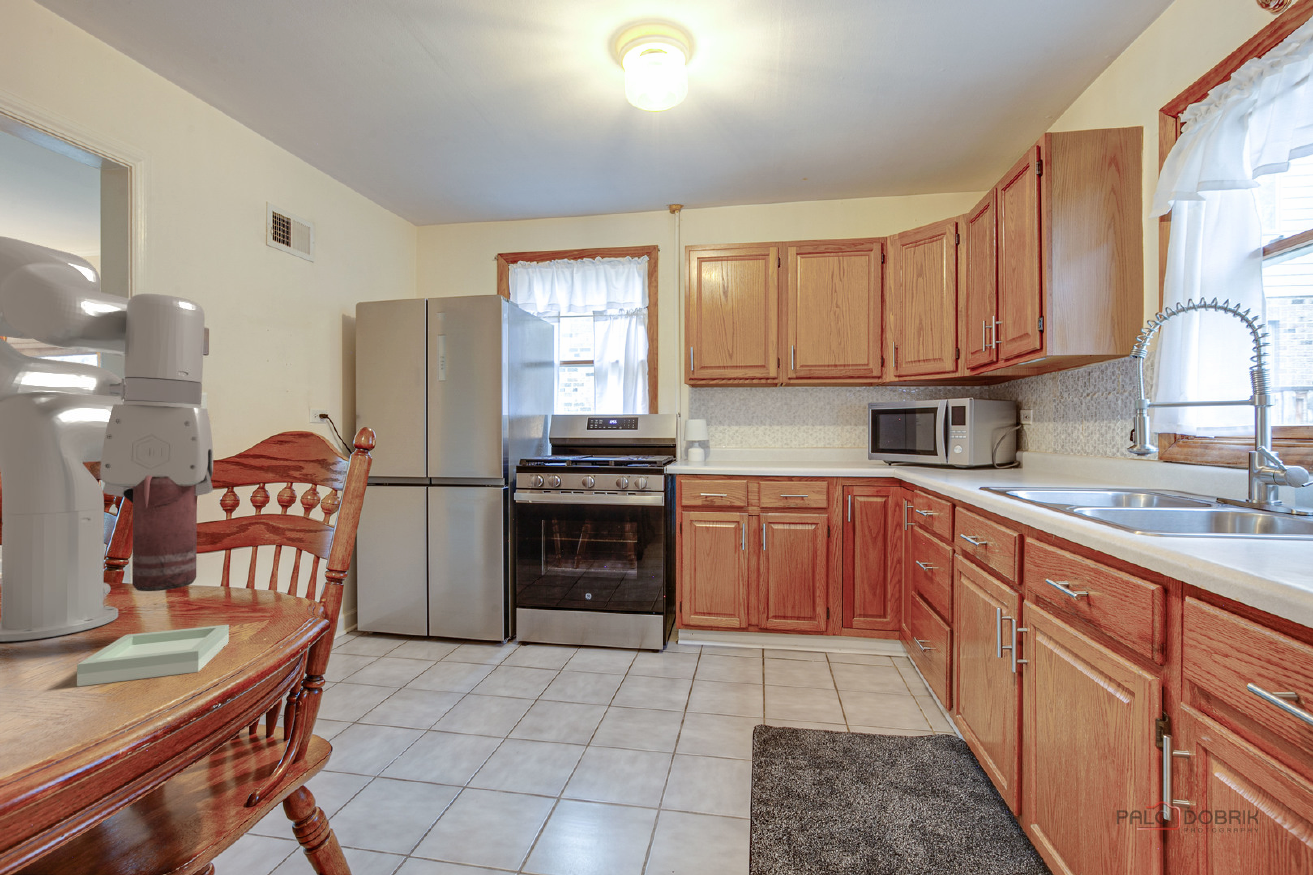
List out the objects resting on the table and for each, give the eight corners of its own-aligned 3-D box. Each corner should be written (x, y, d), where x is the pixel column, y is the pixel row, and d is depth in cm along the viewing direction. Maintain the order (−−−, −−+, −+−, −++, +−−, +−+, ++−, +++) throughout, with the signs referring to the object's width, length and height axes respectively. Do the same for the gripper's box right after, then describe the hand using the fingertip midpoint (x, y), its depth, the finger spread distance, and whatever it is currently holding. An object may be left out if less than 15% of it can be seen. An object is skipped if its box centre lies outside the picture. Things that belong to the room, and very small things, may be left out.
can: (119, 593, 69) (120, 476, 69) (150, 580, 75) (150, 472, 75) (180, 590, 71) (180, 475, 71) (205, 578, 77) (205, 472, 77)
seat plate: (125, 653, 68) (125, 634, 68) (228, 642, 71) (228, 624, 71) (77, 686, 58) (77, 664, 58) (198, 671, 62) (198, 650, 62)
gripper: (69, 389, 67) (62, 549, 67) (225, 397, 72) (219, 545, 72) (103, 393, 74) (97, 538, 74) (243, 400, 79) (238, 535, 79)
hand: (157, 541), depth 73 cm, fingers closed
